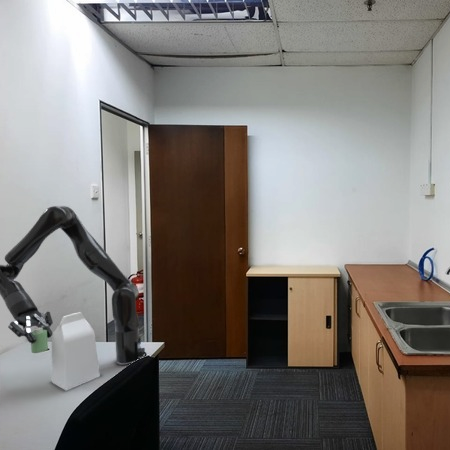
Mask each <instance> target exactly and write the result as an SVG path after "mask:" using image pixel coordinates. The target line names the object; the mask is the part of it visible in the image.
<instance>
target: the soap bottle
mask: <svg viewBox="0 0 450 450" xmlns="http://www.w3.org/2000/svg"><path fill="white" fill-rule="evenodd" d="M31 332H32V334H33V335H34V337H35V338H36V342H35V343H33V344H32V343H30V350H31V353H32V354H39V353H43V352H46V351H47V350H48V349H49V343H48V338H47V330H43V328H40V327H39V328H38V327H36V328H35V329H34V331H31Z"/></svg>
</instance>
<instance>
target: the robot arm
mask: <svg viewBox="0 0 450 450" xmlns="http://www.w3.org/2000/svg"><path fill="white" fill-rule="evenodd" d="M59 229H60V230H61V231H62V232H63V233H65V235H66V236H67V238H69V239H70V241H71V243H72V245H73V248H74V251H75V253H76V255H77V258H78V259H79V260H80V262H81V263H82V264H83V265H84V266H85V267H86V269H88V271H89V272H90V273H92V274H94V275H95V276H97V277H98V278H100V279H101V280H103V281H104V282H105V283H106V284H107V285H108V286H109V287H110V288H111V290H112V291H113V292H112V295H111V311H112V318H113V322H114V338H115V356H116V357H115V363H116V364H117V365H119V366H125V365H126V366H127V365H131V364H130V363H132V362H134V361H136V360H137V359H139V358H140V359H141V358H142V357H144V356H146V357H147V352H146V348H145V347H142V342H141V341H142V340H141V338H142V337H141V335H140V325H139V320H140V319H139V314H138V312H137V300H138V299H139V296H140V291H139V289H138V287H137V286H136V284H135V283H133V282H132V281H131V280H130V279H129V278H128V277H127V276H126V275H125V274H124V273H123V272H122V271H121V270H120V268H119V267H118V265H116V263H115V262H114V261H113V260H112V258H111V257H110V256H109V254H108V253H107V252H106V250H105V249H104V248H103V247H102V246H101V245H100V244H99V242H98V241H97V240H96V239H95V238H94V236H92V234H91V233H90V232H89V231H88V230H87V228H86V227H85V226H84V225H83V223H82V221H81V220H80V218H79V216H78V215H77V214H76V212H75V211H74V210H73V209H72V208H70V207H69V206H66V205H52V206H50V207H47V208H46V209H45V210H43V212H42V214H41V215H40V216H39V218H38V219H37V221H36V222H35V223H34V224H33V226H32V227H31V229H30V230H29V231H28V232H27V233H26V234H25V235H24V237H22V238H21V239H20V240H19V241H18V242H17V244H16V245H14V246H13V247H12V248H11V249H10V250H9V251H8V252H7V253H6V254H5V255H4V261H5V262H6V263H7V264H0V297H1V298H2V300H3V301H4V304H5V306H6V308H7V310H8V311H9V312H10V314H11V316H12V317H13V319H14V320H15V321H11V322H10V323H9V325H8V326H7V327H8V329H9V330H10V331H11V332H12V333H13V334H14V335H15V336H16V337H18V338H21V337H25V338H26V340H27V341H28V342H29V344H31V343H32V344H33V343H35V342H36V338H35V337H34V335H33V334H32V332H33V331H31V328H32V327H36V328H43V330H47V339H50V338H52V334H53V331H52V330H51V326H52V325H53V324H54V323H53V319H52V318H53V317H52V315H51V311H46V312H40V311H39V309H38V307H37V305H36V304H35V302H34V300H33V299H32V297H31V296H30V295H29V293H28V292H27V291H26V290H25V288H24V287H23V285H22V284H21V283H20V281H17V280H15V279H16V278H18V276H19V275H20V273H21V271H22V270H23V268H24V265H25V264H26V263H27V262H28V261H29V260H30V259H31V258H32V257H33V256H34V255H35V254H36V253H37V252H38V250H39V249H40V247H41V246H42V244H43V243H44V241H45V240H46V239H47V238H48V237H49V236H50V235H51V234H53V233H55V232H56V231H57V230H59ZM140 359H139V360H140ZM132 364H133V363H132Z"/></svg>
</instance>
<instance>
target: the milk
mask: <svg viewBox="0 0 450 450" xmlns="http://www.w3.org/2000/svg"><path fill="white" fill-rule="evenodd" d="M98 359H99V358H98V350H97V343H96V335H95V330H94V329H93V327H92V326H91V324H90V323H89V321H87V319H86V318H85V316H84V314H83V313H82V311H78V312H74V313H69V314H67V315H63V316H62V318H61V320H60V322H59V325H58V326H56V329H55V330H54V331H52V336H51V383H53V385H56V386H57V387H59V388H60V389H62V390H64V391H65V392H67V391H69V390H71V389H73V388H76V387H78V386H81V385H83V384H85V383H88V382H90V381H93V380H94V379H97V378H99V377H100V375H101V374H100V366H99V360H98Z"/></svg>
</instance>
